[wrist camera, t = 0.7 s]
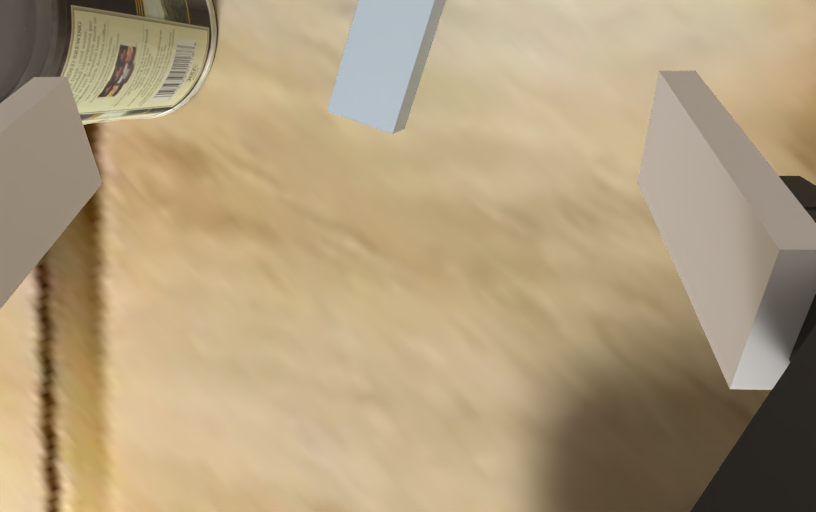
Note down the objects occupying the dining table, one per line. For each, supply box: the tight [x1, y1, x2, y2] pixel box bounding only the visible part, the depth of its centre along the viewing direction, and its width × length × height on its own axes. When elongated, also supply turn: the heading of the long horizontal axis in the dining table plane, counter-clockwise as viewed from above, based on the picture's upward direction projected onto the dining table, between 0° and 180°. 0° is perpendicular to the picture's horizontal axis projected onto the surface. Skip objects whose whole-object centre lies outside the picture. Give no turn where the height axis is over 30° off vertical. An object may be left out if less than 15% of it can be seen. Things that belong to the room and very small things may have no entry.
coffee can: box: [0, 0, 217, 124], centre depth 32 cm, size 10×10×14 cm
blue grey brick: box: [327, 0, 445, 134], centre depth 35 cm, size 7×4×4 cm, turn 162°
